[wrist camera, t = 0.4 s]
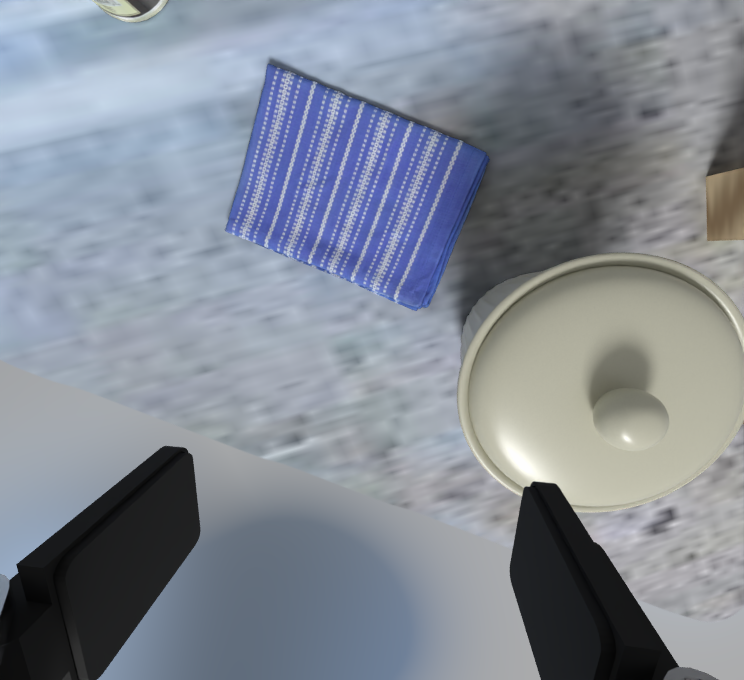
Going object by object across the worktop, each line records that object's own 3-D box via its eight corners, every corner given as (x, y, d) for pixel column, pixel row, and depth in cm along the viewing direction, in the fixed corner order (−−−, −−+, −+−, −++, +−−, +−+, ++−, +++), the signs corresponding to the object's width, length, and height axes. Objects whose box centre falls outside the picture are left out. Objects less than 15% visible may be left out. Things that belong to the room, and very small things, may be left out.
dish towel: (423, 313, 40) (424, 318, 37) (229, 234, 40) (216, 233, 37) (492, 156, 35) (499, 148, 32) (273, 67, 35) (261, 52, 32)
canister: (556, 433, 41) (700, 613, 21) (413, 376, 41) (417, 500, 21) (643, 289, 36) (944, 341, 16) (481, 224, 36) (573, 193, 16)
